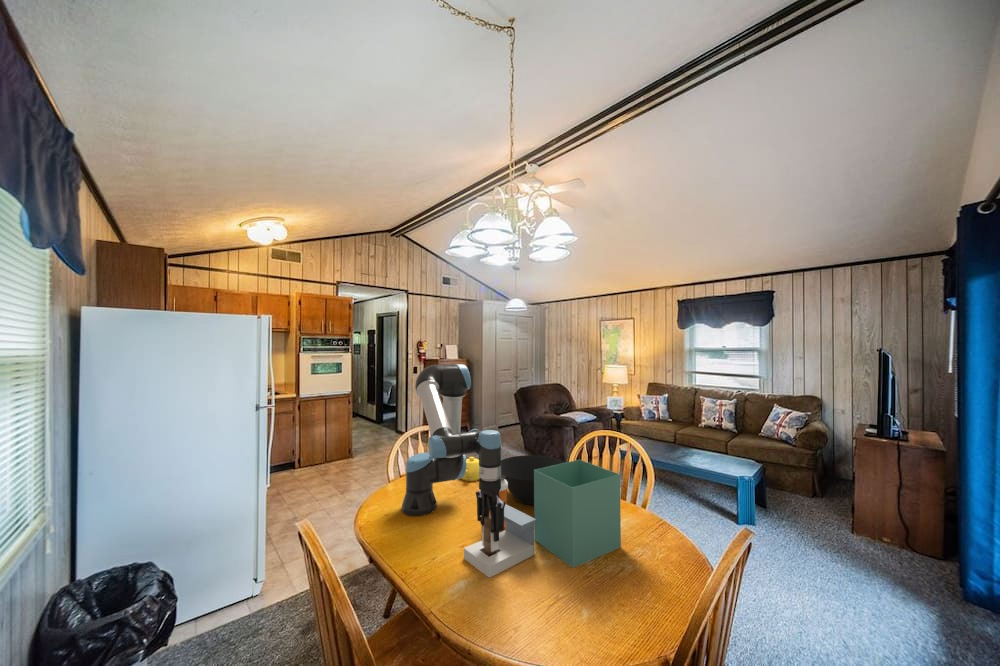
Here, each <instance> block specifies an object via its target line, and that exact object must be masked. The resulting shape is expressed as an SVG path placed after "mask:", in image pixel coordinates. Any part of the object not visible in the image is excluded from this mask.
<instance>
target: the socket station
mask: <svg viewBox="0 0 1000 666" xmlns="http://www.w3.org/2000/svg"><path fill="white" fill-rule="evenodd" d="M504 521H506V527H505V529H504V530H502V531H500V532H499V541H498V550H496V554H494V555H492V556H490V557H489V556H487V555H486V554H484V546H483V545H482V540H480V541H479V540H478V541H477V542H475V543H473V544H471V545H470V544H469V545H467V546H465V547H463V559H464V560H465V561H466V562H468V563H470V565H472V566H473V567H475V569H477V570H478V571H480V572H481V573H483V575H485V576H486V577H488V579H490V578H492V577H494V576H495V575H498V574H500V573H502V572H504V571H505V570H507V569H509V568H512V567H513V566H515V565H517V564H520V563H522V561H526V559H528V558H531V557H533V556H534V555H535V540H534V524H536V519H535V518H534V516H530V515H528V514H527V513H525V512H523V511H520V510H518V509H517V508H515V507H512V506H510V505H508V503H507V504H505V507H504Z"/></svg>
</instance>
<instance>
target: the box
mask: <svg viewBox="0 0 1000 666" xmlns="http://www.w3.org/2000/svg"><path fill="white" fill-rule="evenodd" d="M533 505H534V506H533V510H534V511H533V513H534V515H533V518H535V519H536V524H534V542H537V544H539V545H540V546H542V547H543V548H545V549H546V550H547V551H549V552H550V553H552V554H553V555H554V556H556V557H557V558H559V559H560V560H561V561H563V562H564V563H566V565H568V566H569V567H571V568H573V569H574V568H576V567H579V566H580V565H583V564H586V563H588V562H590V561H592V560H593V561H594V560H595V559H597V558H600V557H601V556H604V555H607V554H608V553H611V552H613V551H616V550H618V549H620V548H622V537H621V535H622V534H621V533H622V531H621V530H622V529H621V528H622V527H621V526H622V525H621V520H622V519H621V474H620V473H618V472H615V471H611V470H610V469H606V468H603V467H601V466H598V465H596V464H593V463H590V462H587V461H585V460H582V459H577V460H576V459H575V460H572V461H567V462H565V463H562V464H558V465H553V466H549V467H545V468H540V469H536V470H534V504H533Z"/></svg>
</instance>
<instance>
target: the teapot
mask: <svg viewBox="0 0 1000 666" xmlns="http://www.w3.org/2000/svg"><path fill="white" fill-rule="evenodd" d="M466 462H467V466H466V472H465V474H464V476H463V477H462V478H460V479H461V480H462V481H464V480H465V482H477V481H478V482H479V478H480V477H479V458H475V457H474V456H469V457H468V458H466Z"/></svg>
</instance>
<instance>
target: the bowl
mask: <svg viewBox="0 0 1000 666" xmlns="http://www.w3.org/2000/svg"><path fill="white" fill-rule="evenodd" d="M562 463H566V462H565V461H564V460H561V459H559V458H555V457H550V456H545V455H534V454H533V455H531V454H529V455H528V454H527V455H516V456H510V457H506V458H504V459H501V475H504V476H506V478H505V479H506V481H507V482H508V488H507V490H509V492H510V494H511V495H512V497H513V498H514V499H515V500H516V501H518V502H519V503H522V504H526V505H534V470H536V469H540V468H545V467H549V466H553V465H558V464H562Z"/></svg>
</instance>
